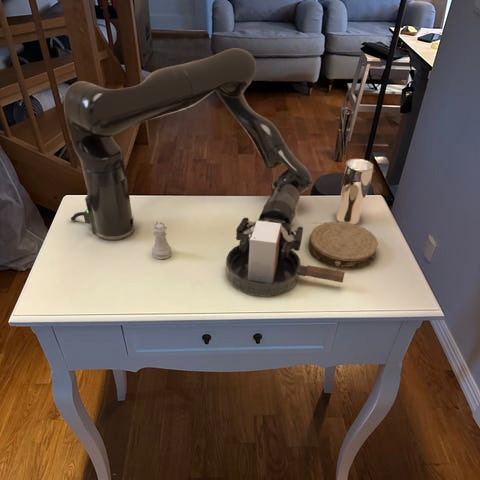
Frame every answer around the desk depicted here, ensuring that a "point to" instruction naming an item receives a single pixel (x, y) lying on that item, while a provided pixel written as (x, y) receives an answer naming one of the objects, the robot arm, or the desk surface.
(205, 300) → the desk surface
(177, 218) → the desk surface
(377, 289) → the desk surface
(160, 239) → the rook chess piece
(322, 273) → the pan handle
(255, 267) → the small box
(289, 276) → the pan
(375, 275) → the desk surface
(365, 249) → the wood slice
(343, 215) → the silver metal cup
